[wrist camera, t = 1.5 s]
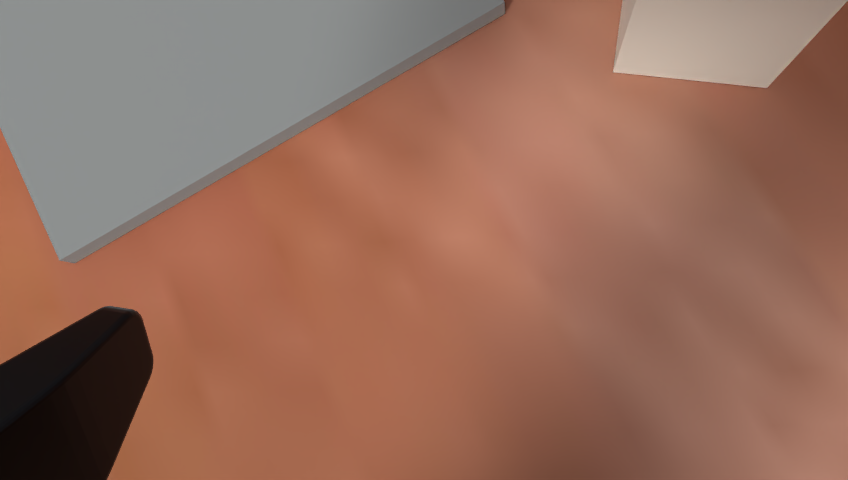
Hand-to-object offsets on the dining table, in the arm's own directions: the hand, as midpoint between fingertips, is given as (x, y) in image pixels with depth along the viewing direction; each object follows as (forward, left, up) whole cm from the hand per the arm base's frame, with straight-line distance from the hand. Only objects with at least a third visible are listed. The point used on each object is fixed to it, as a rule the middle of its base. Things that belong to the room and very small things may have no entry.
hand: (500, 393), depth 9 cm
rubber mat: (-3, +18, -14) cm, 22 cm away
